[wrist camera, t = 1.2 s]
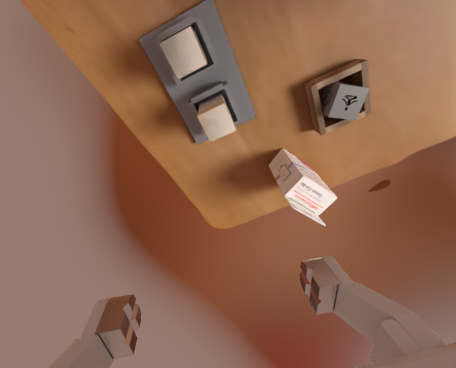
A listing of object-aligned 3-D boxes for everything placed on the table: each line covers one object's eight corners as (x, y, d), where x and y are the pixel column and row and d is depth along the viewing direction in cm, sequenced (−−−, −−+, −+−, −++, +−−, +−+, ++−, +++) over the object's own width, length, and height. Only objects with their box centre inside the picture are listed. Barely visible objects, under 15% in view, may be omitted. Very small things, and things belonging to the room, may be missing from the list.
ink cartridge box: (312, 165, 46) (349, 209, 34) (296, 182, 48) (326, 229, 36) (282, 146, 43) (311, 185, 31) (266, 165, 45) (288, 209, 33)
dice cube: (352, 83, 38) (369, 88, 34) (340, 112, 41) (355, 120, 36) (325, 80, 37) (340, 84, 33) (315, 109, 40) (328, 117, 36)
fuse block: (212, -2, 30) (212, -9, 27) (255, 115, 40) (259, 121, 36) (140, 39, 32) (131, 38, 29) (197, 142, 41) (196, 150, 38)
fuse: (221, 91, 36) (224, 103, 28) (231, 113, 38) (236, 130, 31) (199, 102, 37) (196, 116, 29) (210, 123, 39) (210, 142, 31)
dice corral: (356, 59, 36) (367, 59, 33) (361, 109, 40) (371, 113, 38) (303, 83, 37) (310, 86, 35) (314, 129, 42) (321, 135, 39)
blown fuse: (195, 30, 31) (190, 25, 24) (208, 60, 33) (207, 64, 26) (170, 44, 32) (158, 43, 24) (184, 72, 34) (177, 79, 27)
